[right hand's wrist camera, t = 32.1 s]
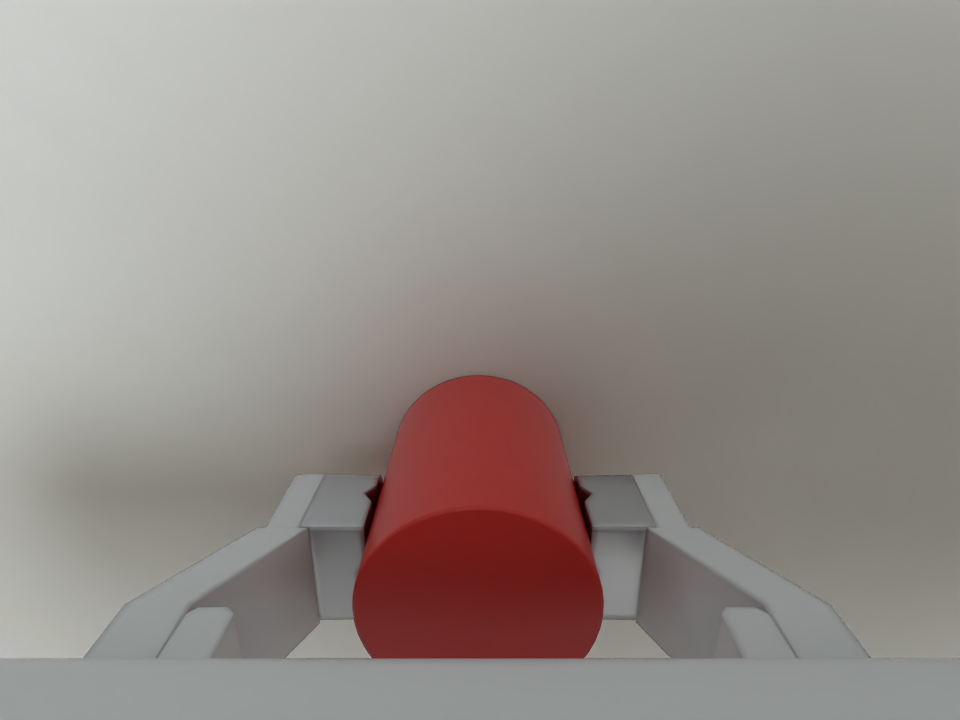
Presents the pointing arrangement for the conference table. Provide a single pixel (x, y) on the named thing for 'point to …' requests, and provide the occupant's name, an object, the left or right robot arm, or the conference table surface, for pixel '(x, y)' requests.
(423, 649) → the tin
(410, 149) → the conference table surface
